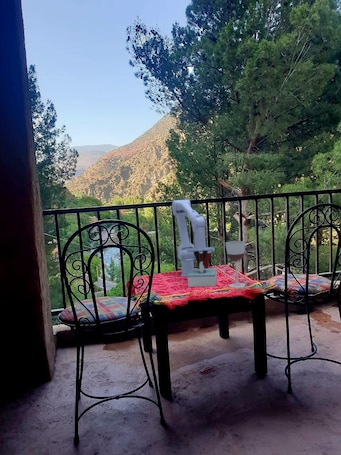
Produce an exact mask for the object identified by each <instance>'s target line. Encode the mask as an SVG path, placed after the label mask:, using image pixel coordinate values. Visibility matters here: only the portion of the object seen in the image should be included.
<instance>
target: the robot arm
mask: <svg viewBox="0 0 341 455" xmlns="http://www.w3.org/2000/svg"><path fill="white" fill-rule="evenodd" d="M171 208H172V209H171V210H172V215H173V216H175V218H176V222H177V223H176V224H177V228H178V233H179V239H180V244H179V246H178V247H177V258H178V260H180V263H181V275H180V277H181V278H182V277H188V276H187V275H188V273H189V271H190V269H195V260H196V259H197V260H196V263H197V262H198V265H199V263H200V257H199V252H203V253H202V255H203V266H205V259H206V255H207V253H208V252H210V251H212V252H215V250H216V249H215V247H214V246H213V247H211V246H210V247H207V246H206V227H207V219H206V217H205V216H202V215H201V214H199V213H198V212H197V211H196V210H195V209H193V208H192V204H191V201H190V199H189V198H187V199H177V200H175V199H174V200H173V201H172V203H171ZM186 216H187V218H188V220H189V221H190V222H191V228H192V232H193V237H194V238H193V239H194V244H193V243H191V242H190V238H189V233H188V228H187V222H186ZM203 250H204V251H203ZM212 252H211V253H212ZM198 265H197V266H198Z"/></svg>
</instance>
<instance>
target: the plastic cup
mask: <svg viewBox="0 0 341 455" xmlns="http://www.w3.org/2000/svg"><path fill="white" fill-rule="evenodd" d="M203 251H204V250H203ZM202 253H203V252H199V257H200V262H203V255H202ZM211 253H212V251H210V252H208V253H207V255H206V259H205V266H204V269H207V268H210V267H209V266H210V259H211V258H210V257H211V255H212V254H211ZM195 260H196V264H197V269H200V267H199V265H198V262H197V259H196V258H195Z"/></svg>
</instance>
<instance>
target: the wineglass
mask: <svg viewBox="0 0 341 455" xmlns="http://www.w3.org/2000/svg"><path fill="white" fill-rule="evenodd" d="M225 249H226V255H227V257H228V258H229V259H230V260H231V261H234V263H235V278H236V282H235V283H231V284H229V285H228V286H229V287H231V288H233V289H235V288H245V287H246V286H245V285H246V284H245V283H243V282H242V283H241V282H239V272H238V262H239V261H241V260H242V259H243V258H244V256H245V251H246V242H245V241H244V240H231V241H226V242H225ZM244 286H245V287H244Z"/></svg>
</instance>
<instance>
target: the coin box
mask: <svg viewBox="0 0 341 455" xmlns="http://www.w3.org/2000/svg"><path fill="white" fill-rule="evenodd" d="M217 276H218V275H217V268H216V267H214V268H213V267H212V268H210V267H208V268H207V269H204V273H200V269H198V268H194V269H190V271H189V273H188V275H187V276H186V277H187V287H188V288H193V287H195V288H196V287H216V285H217V281H218V280H217V279H218V277H217Z"/></svg>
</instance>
